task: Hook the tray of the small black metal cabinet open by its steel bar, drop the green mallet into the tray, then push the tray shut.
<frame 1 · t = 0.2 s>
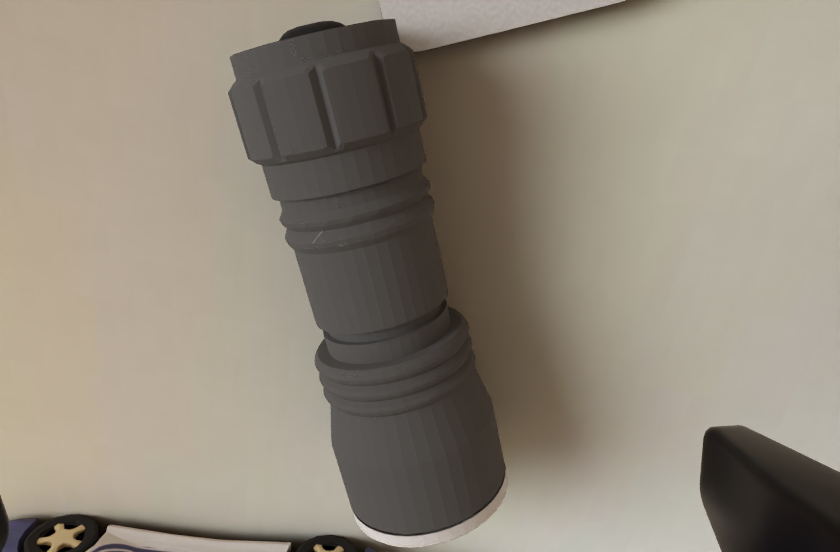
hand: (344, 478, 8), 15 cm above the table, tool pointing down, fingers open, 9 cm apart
flashlight: (387, 266, 23), on the table
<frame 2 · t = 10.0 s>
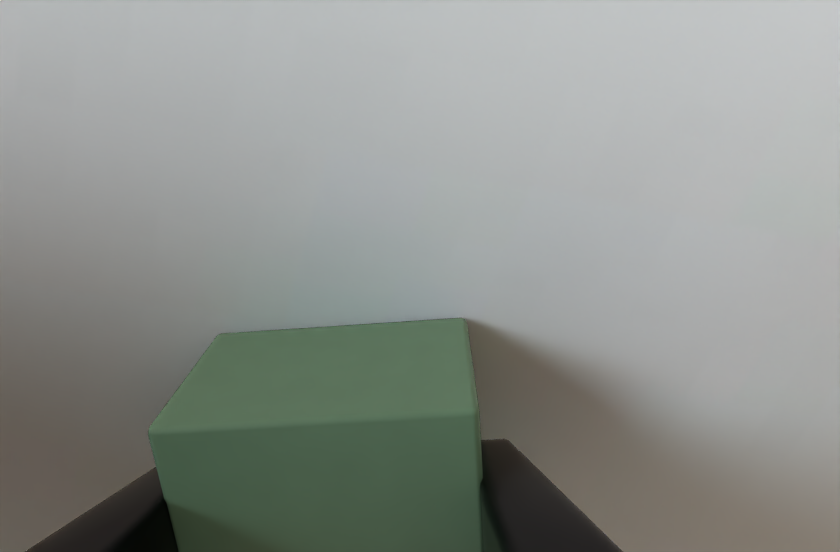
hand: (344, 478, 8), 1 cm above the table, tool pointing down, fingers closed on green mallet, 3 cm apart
when the fingers open (9 cm above the table, at t = 15.4 s): green mallet drops 5 cm, resting on drawer.
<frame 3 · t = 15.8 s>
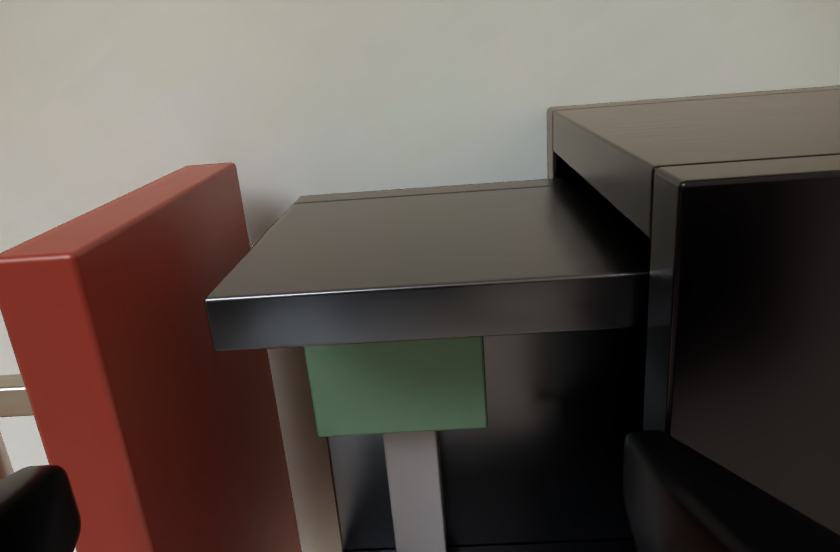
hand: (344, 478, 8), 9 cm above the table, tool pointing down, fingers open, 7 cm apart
drawer: (401, 463, 13), point 4 cm above the table, slide at 7.1 cm, touching green mallet
green mallet: (410, 402, 15), point 2 cm above the table, touching drawer
cabinet: (837, 340, 17), on the table
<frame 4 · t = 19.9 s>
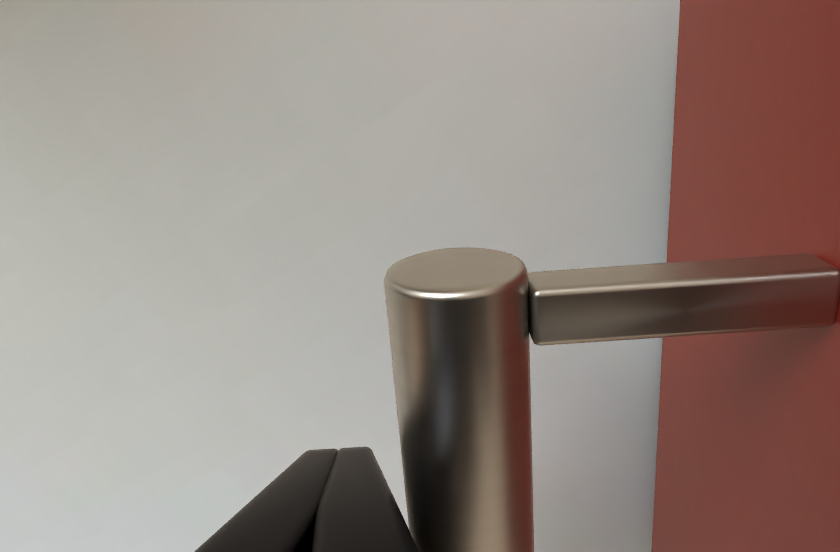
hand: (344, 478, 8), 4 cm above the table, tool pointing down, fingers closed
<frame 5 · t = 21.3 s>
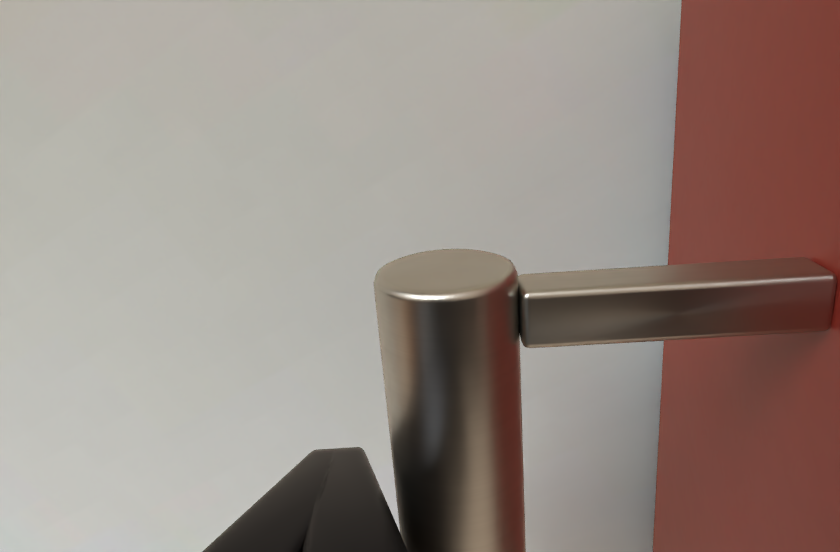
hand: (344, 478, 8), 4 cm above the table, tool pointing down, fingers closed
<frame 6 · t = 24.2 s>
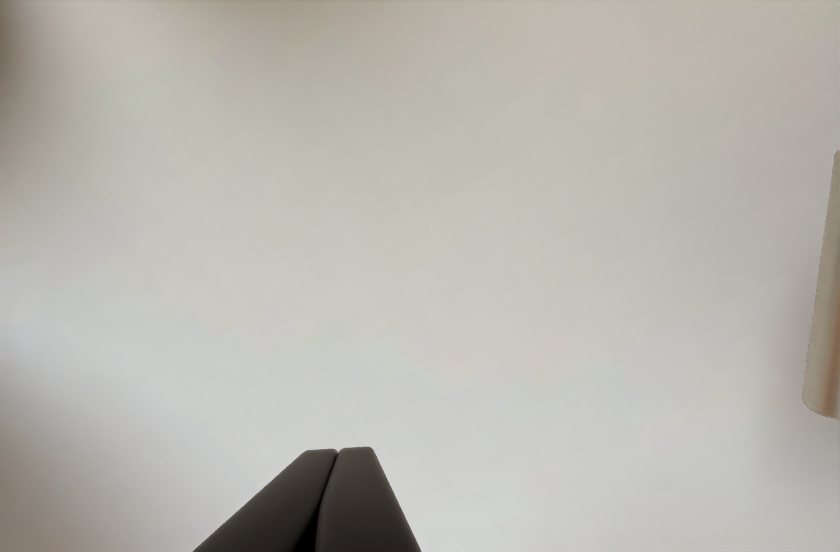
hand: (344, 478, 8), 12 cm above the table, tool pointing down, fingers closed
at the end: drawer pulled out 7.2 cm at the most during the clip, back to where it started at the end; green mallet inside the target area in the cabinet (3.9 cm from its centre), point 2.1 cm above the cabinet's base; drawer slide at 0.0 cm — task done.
